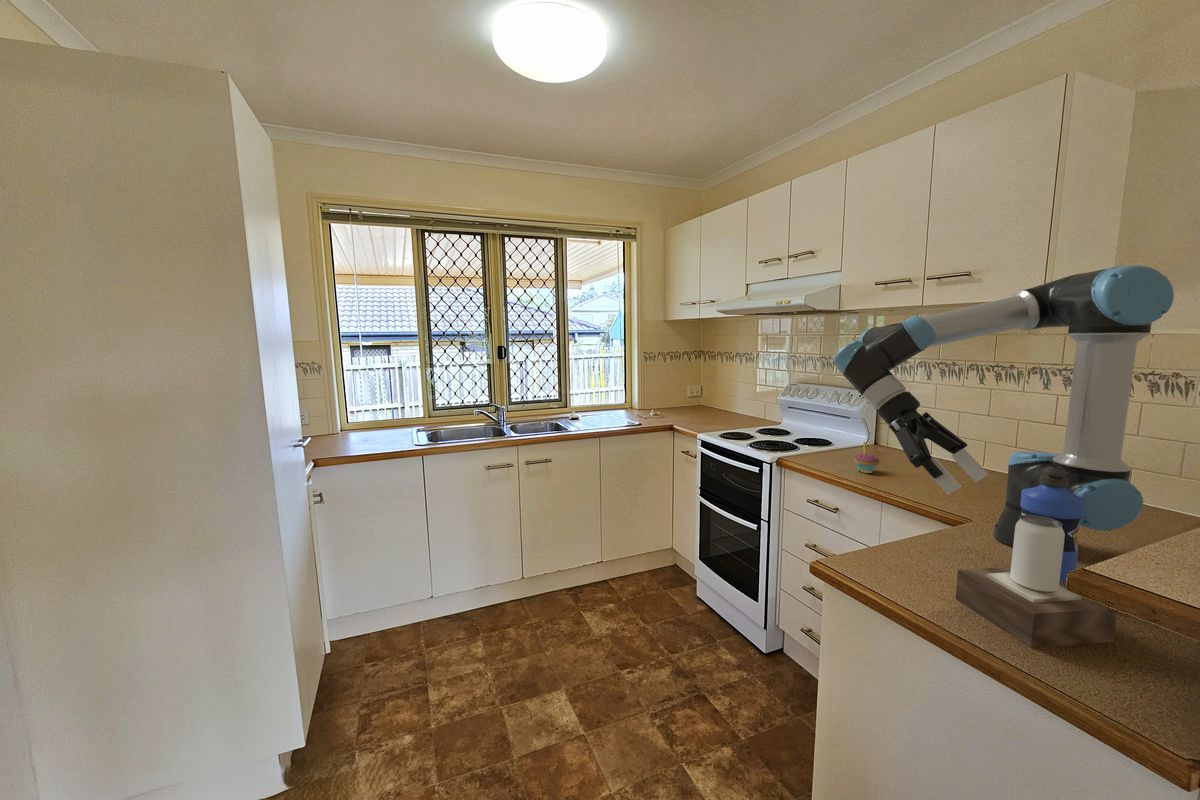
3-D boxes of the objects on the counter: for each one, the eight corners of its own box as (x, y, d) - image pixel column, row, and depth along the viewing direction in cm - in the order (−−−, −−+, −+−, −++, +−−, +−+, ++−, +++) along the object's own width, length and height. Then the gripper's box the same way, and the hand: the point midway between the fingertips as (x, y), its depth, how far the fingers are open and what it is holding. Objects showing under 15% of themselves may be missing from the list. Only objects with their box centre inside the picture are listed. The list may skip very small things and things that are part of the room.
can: (1010, 571, 89) (1016, 511, 88) (1057, 583, 85) (1064, 519, 84) (1009, 585, 85) (1016, 521, 83) (1059, 597, 80) (1067, 530, 79)
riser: (1026, 594, 94) (1029, 563, 93) (1113, 641, 79) (1118, 604, 78) (955, 598, 92) (958, 566, 92) (1030, 647, 78) (1034, 610, 77)
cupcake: (848, 469, 185) (850, 439, 183) (868, 468, 186) (870, 439, 184) (862, 475, 176) (864, 444, 175) (883, 474, 177) (885, 443, 176)
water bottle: (1012, 584, 97) (1024, 467, 94) (1013, 568, 104) (1024, 458, 101) (1076, 600, 91) (1091, 475, 88) (1073, 582, 98) (1086, 465, 95)
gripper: (904, 406, 111) (976, 483, 101) (848, 417, 98) (924, 506, 87) (931, 386, 106) (1010, 464, 96) (875, 394, 93) (960, 486, 82)
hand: (969, 484), depth 91 cm, fingers open, 13 cm apart
